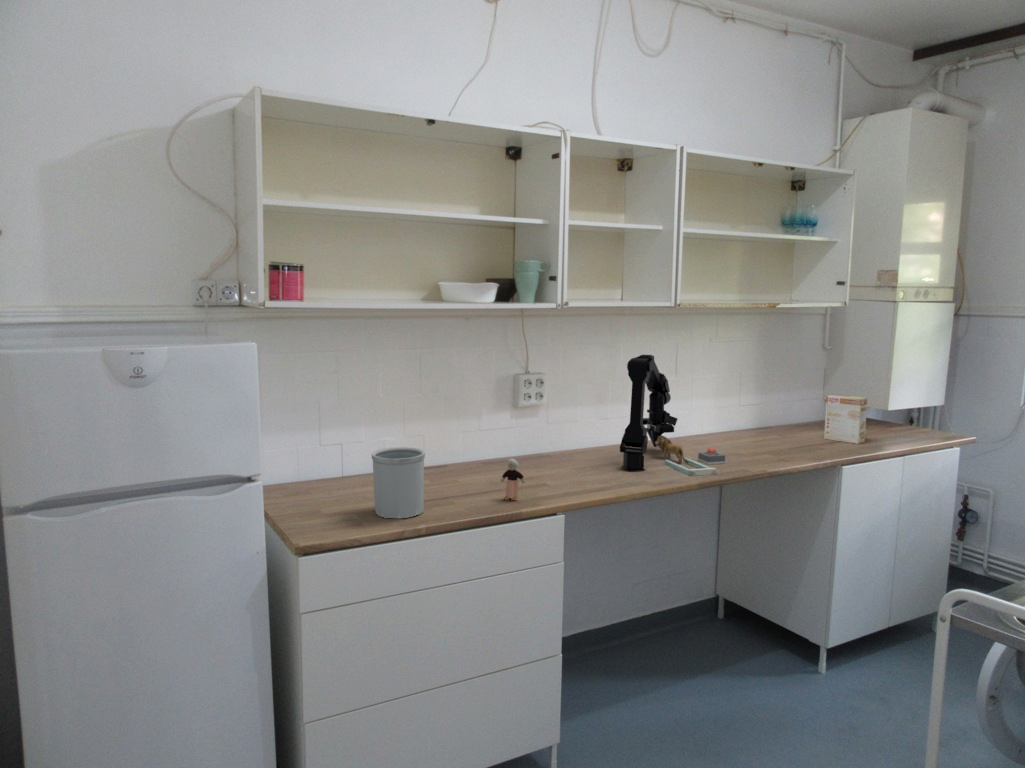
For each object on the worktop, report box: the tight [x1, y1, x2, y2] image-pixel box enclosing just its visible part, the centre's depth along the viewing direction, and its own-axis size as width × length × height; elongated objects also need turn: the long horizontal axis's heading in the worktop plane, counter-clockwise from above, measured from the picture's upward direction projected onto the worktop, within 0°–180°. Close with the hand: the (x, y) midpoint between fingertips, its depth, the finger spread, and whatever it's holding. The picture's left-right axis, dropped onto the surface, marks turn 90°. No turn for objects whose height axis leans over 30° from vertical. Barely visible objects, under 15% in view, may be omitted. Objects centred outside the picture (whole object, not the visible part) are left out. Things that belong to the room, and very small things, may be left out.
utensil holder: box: [371, 446, 426, 518], centre depth 206 cm, size 15×15×18 cm
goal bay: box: [663, 458, 717, 477], centre depth 261 cm, size 10×19×2 cm, turn 17°
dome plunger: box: [706, 447, 717, 455], centre depth 272 cm, size 3×3×4 cm
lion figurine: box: [655, 435, 688, 465], centre depth 274 cm, size 15×5×9 cm, turn 40°
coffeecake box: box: [823, 394, 868, 445], centre depth 314 cm, size 15×7×20 cm, turn 42°
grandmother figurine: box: [500, 458, 526, 501], centre depth 220 cm, size 8×4×13 cm, turn 82°
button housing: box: [697, 451, 726, 465], centre depth 273 cm, size 7×7×3 cm
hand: (655, 446), depth 286 cm, fingers closed
